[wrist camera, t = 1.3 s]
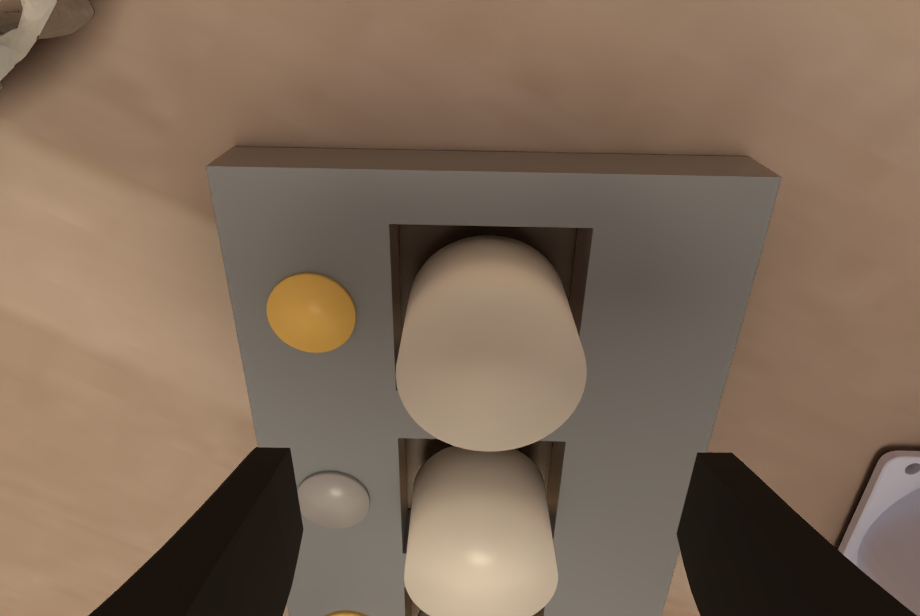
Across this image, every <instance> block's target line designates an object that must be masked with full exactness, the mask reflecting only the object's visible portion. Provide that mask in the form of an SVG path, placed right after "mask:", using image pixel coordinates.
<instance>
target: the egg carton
mask: <svg viewBox="0 0 920 616" xmlns="http://www.w3.org/2000/svg"><path fill="white" fill-rule="evenodd" d="M20 1H21V5H22V8H23V10H22V12H10V13H0V90H1V89H2V84H1V80H2V79H3V78H4V77H5V76H6V75H7V74H8V73H9V72H10V71H11V70H12V69H13V68H14V67H15V66H16V65H17V64H18V63H19V62H20V61H21V60H22V59H23V58H24V57H25V56H26V55H27V53H28V52H29V50H30V49H31V48H32V46H33V45H34V43H35V42H36V40H37V39H46V38H53V37H58V36H66V35H70V34H72V33H74V32H75V31H77V30H79V29H80V28H81V27H82V26H83V25H85V24H86V23H87V22H88V21H89V20H90V19H91V18H92V17H93V16H94V10H93V8H92V5H91V4H90V2H89V1H88V0H20Z"/></svg>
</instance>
